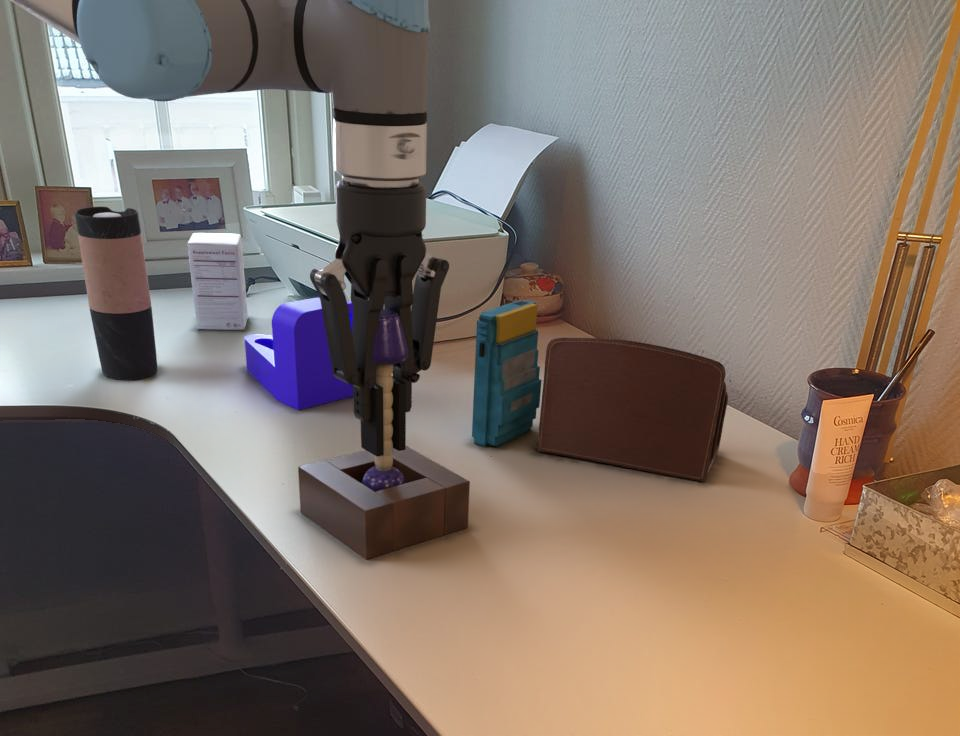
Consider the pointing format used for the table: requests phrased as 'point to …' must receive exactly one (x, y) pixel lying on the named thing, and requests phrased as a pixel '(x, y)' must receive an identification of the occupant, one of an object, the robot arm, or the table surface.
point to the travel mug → (118, 291)
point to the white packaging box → (218, 281)
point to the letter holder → (632, 406)
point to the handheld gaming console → (505, 373)
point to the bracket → (296, 357)
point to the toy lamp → (386, 396)
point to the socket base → (383, 501)
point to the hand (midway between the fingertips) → (383, 448)
